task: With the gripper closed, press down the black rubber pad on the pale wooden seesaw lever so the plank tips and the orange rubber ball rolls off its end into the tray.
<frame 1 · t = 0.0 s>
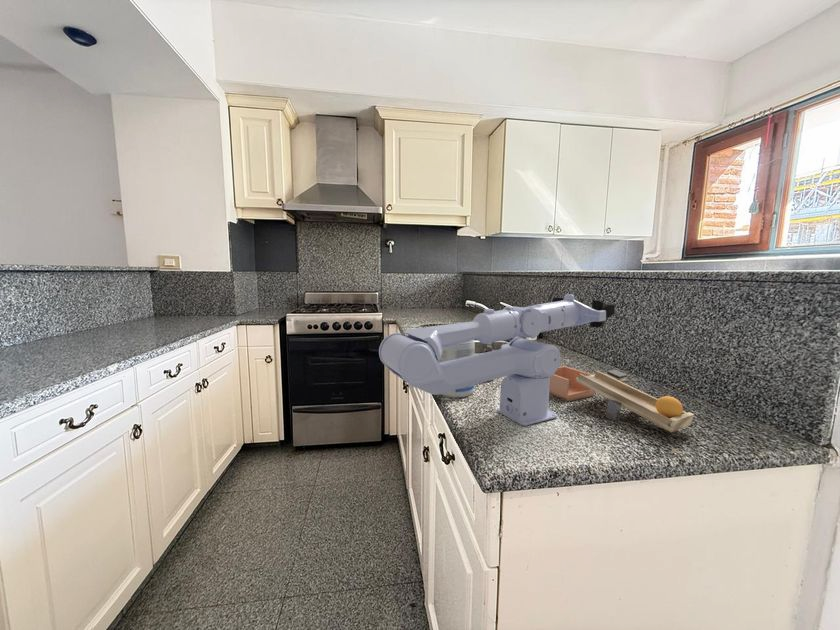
hand: (596, 307, 73), 22 cm above the countertop, tool horizontal, fingers open, 7 cm apart
tray: (565, 392, 81), on the countertop
pivot stand: (625, 415, 67), on the countertop
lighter: (488, 378, 92), on the countertop
ball: (668, 407, 60), point 5 cm above the countertop, tilted 11°, touching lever
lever: (638, 393, 68), point 4 cm above the countertop, hinge at 10.0°, touching ball
supplement tub: (454, 392, 80), on the countertop
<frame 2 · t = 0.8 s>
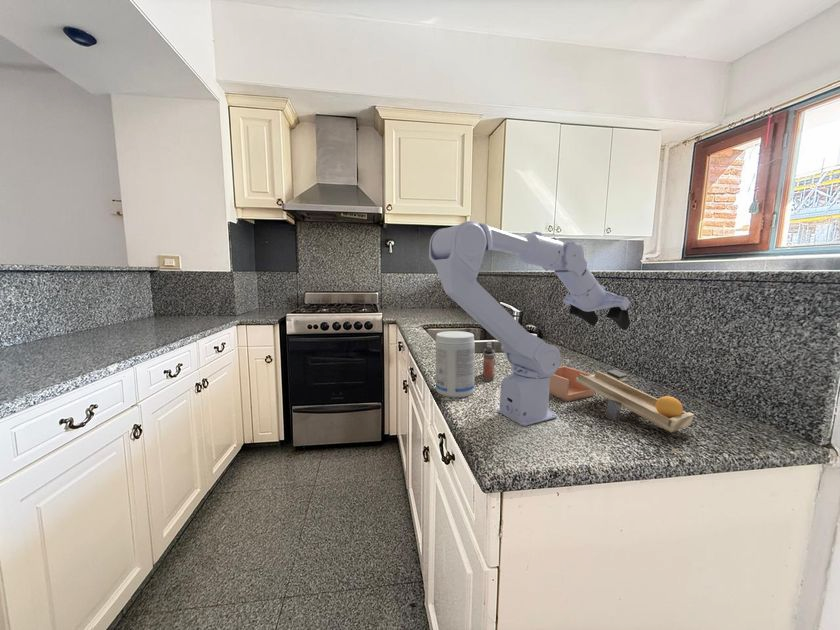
hand: (610, 324, 75), 18 cm above the countertop, tool tilted 50°, fingers open, 7 cm apart
nothing on the countertop moved.
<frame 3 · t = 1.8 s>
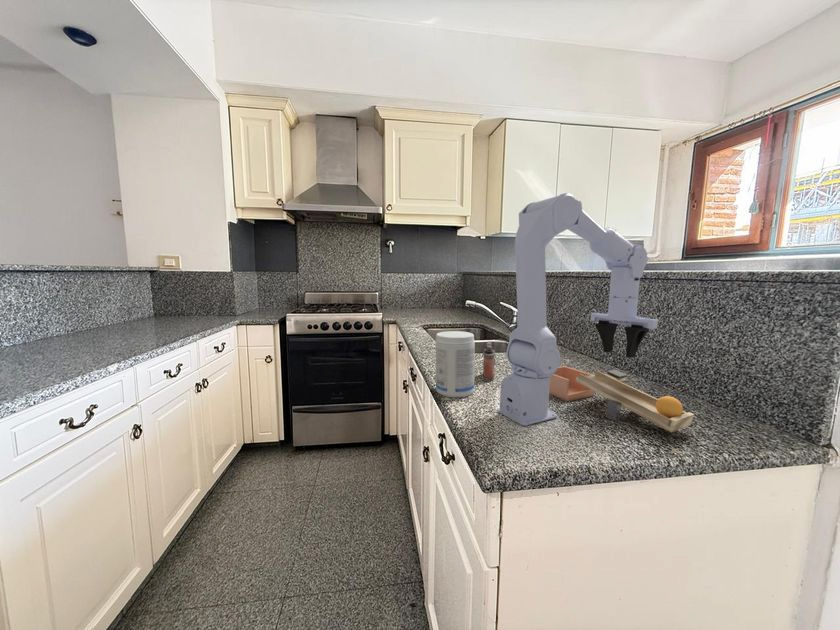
hand: (618, 354, 77), 10 cm above the countertop, tool pointing down, fingers open, 5 cm apart
nothing on the countertop moved.
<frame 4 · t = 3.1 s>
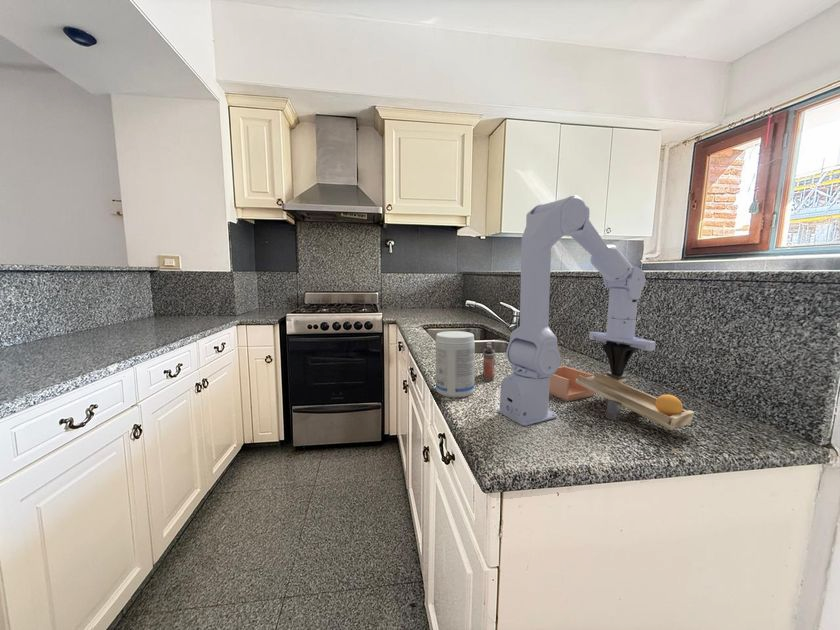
hand: (617, 374, 77), 6 cm above the countertop, tool pointing down, fingers closed, pressing on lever
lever: (637, 393, 68), point 4 cm above the countertop, hinge at 7.6°, touching ball, gripper
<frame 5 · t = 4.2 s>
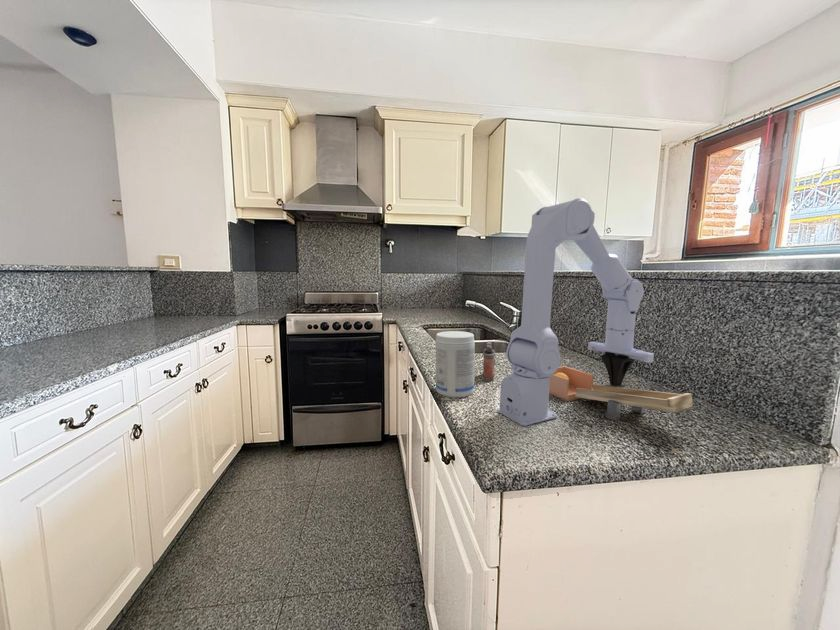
hand: (615, 384, 78), 3 cm above the countertop, tool pointing down, fingers closed, pressing on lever
ball: (560, 380, 82), point 2 cm above the countertop, tilted 15°, touching tray
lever: (636, 392, 68), point 4 cm above the countertop, hinge at -11.4°, touching gripper
everything else where it was.
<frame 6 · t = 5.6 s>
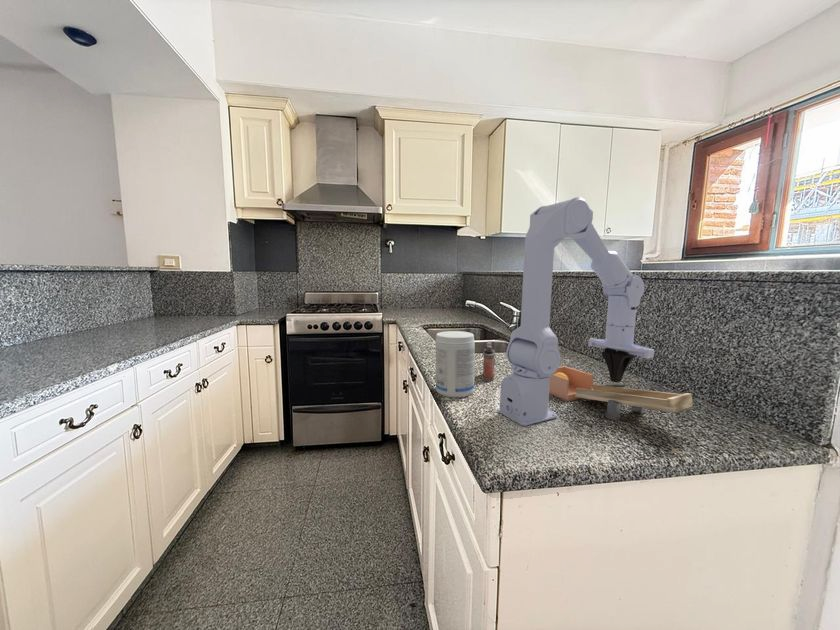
hand: (615, 381, 77), 4 cm above the countertop, tool pointing down, fingers closed
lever: (636, 392, 68), point 4 cm above the countertop, hinge at -11.4°
everything else where it was.
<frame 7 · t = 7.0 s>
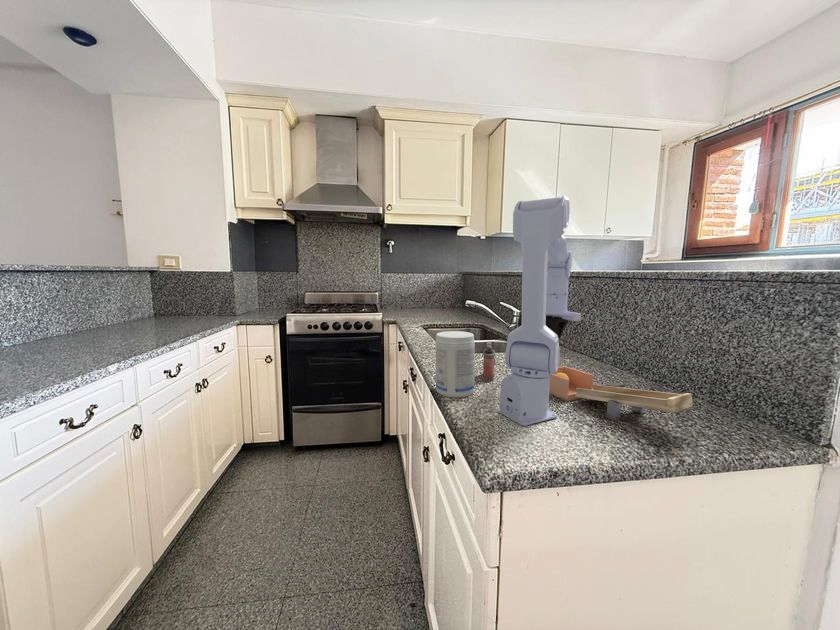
hand: (553, 344, 88), 10 cm above the countertop, tool pointing down, fingers closed
ball: (560, 380, 82), point 2 cm above the countertop, tilted 11°, touching tray
everything else where it was.
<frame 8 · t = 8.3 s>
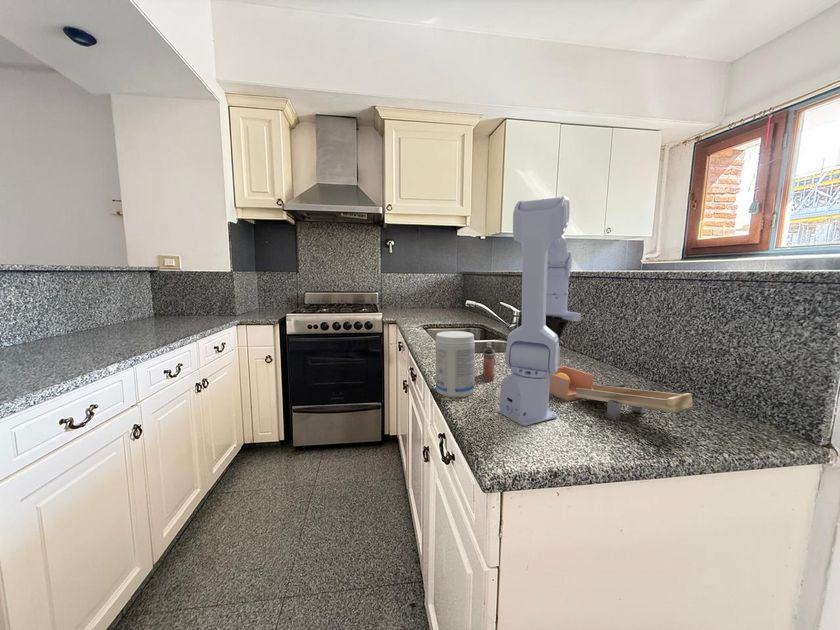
hand: (553, 344, 88), 10 cm above the countertop, tool pointing down, fingers closed
ball: (561, 380, 82), point 2 cm above the countertop, tilted 5°, touching tray
everything else where it was.
at the end: ball inside the target area on the tray (1.4 cm from its centre), point 2.5 cm above the tray's base; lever at -11° (first picture: +10°) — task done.
